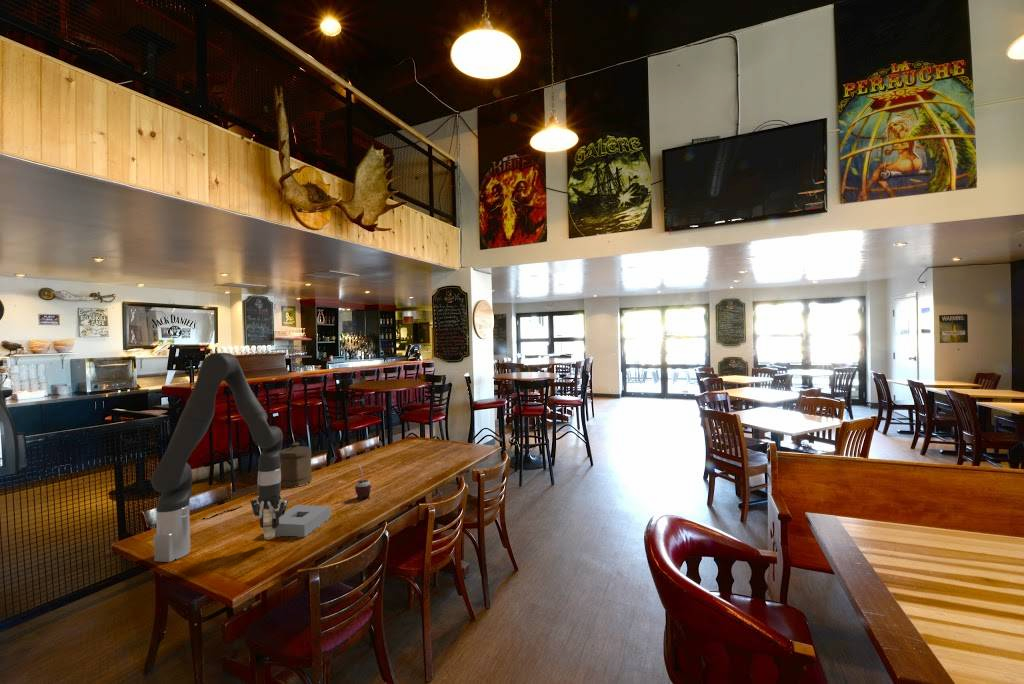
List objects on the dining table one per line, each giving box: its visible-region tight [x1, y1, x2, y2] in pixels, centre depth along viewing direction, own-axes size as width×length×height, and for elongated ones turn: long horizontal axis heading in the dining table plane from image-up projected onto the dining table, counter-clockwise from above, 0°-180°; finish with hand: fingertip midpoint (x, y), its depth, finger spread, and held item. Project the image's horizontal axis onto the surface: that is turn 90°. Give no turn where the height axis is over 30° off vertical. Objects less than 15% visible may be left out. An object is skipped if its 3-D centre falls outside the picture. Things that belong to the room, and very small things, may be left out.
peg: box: [262, 508, 276, 540], centre depth 156 cm, size 4×4×11 cm
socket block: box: [275, 504, 331, 538], centre depth 172 cm, size 18×16×5 cm
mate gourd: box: [354, 464, 372, 501], centre depth 202 cm, size 8×8×15 cm
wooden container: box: [280, 441, 313, 488], centre depth 225 cm, size 15×15×22 cm
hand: (269, 527), depth 156 cm, fingers closed on peg, 4 cm apart
